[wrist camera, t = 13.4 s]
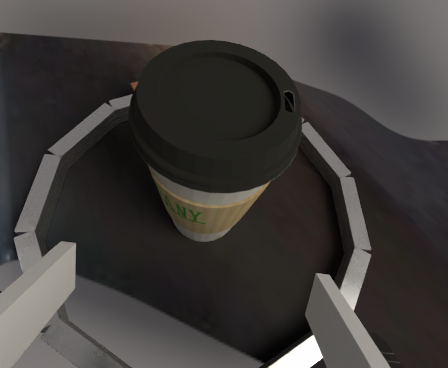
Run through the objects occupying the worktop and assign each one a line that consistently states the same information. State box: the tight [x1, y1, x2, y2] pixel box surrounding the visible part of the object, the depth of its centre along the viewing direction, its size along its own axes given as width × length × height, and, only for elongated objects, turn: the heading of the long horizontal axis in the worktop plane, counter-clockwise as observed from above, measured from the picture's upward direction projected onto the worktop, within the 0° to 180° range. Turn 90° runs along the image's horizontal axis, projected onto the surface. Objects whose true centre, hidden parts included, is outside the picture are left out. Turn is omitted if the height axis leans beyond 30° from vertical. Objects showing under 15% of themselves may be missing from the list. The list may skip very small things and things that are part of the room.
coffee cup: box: [128, 40, 302, 242], centre depth 21 cm, size 10×10×15 cm
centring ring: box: [14, 82, 371, 368], centre depth 27 cm, size 31×30×3 cm
